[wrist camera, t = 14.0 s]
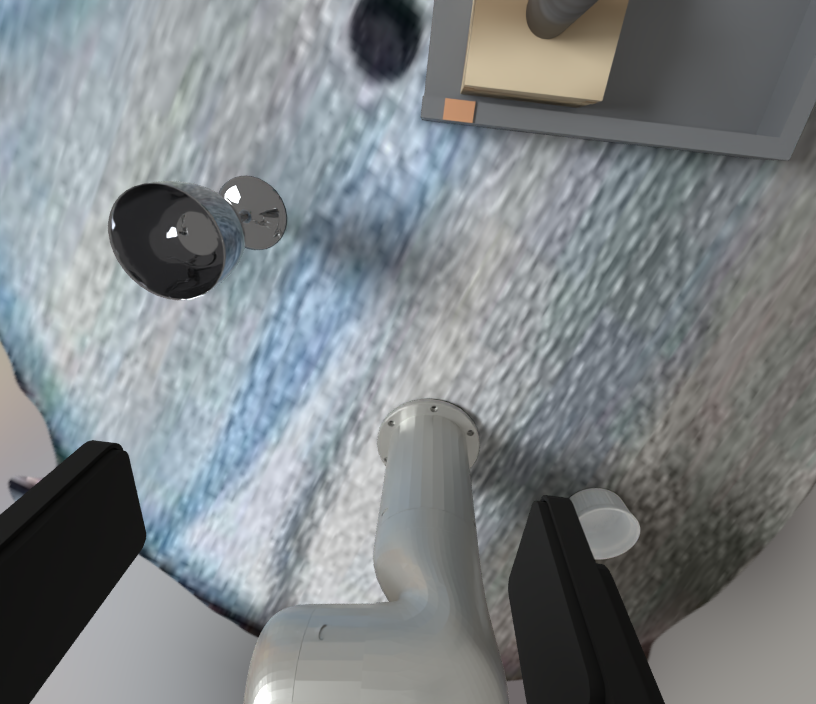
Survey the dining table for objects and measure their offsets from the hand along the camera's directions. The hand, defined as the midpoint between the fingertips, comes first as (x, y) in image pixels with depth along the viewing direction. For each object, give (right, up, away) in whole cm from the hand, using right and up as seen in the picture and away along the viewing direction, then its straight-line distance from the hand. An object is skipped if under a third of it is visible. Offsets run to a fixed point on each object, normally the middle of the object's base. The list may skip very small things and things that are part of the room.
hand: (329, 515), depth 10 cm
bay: (+19, +29, +25) cm, 43 cm away
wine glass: (-14, +18, +33) cm, 40 cm away
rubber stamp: (+12, +29, +24) cm, 40 cm away
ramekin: (+26, -17, +47) cm, 57 cm away
